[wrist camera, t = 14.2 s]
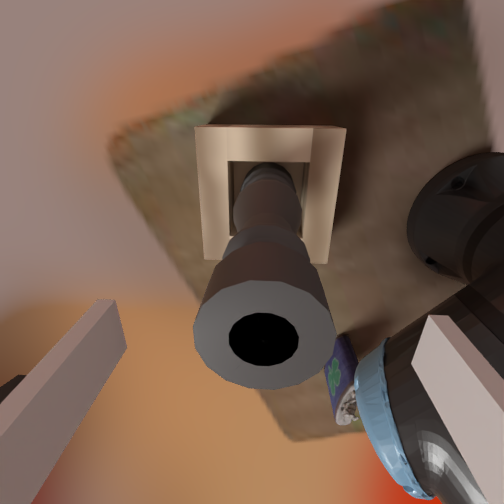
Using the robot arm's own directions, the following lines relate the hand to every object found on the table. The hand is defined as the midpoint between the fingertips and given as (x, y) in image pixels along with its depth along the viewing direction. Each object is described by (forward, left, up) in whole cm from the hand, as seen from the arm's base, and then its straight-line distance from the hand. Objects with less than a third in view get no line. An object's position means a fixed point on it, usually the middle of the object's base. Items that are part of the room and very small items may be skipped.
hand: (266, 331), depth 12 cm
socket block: (0, 0, -25) cm, 25 cm away
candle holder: (0, 0, -24) cm, 24 cm away
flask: (-12, +27, -25) cm, 39 cm away
